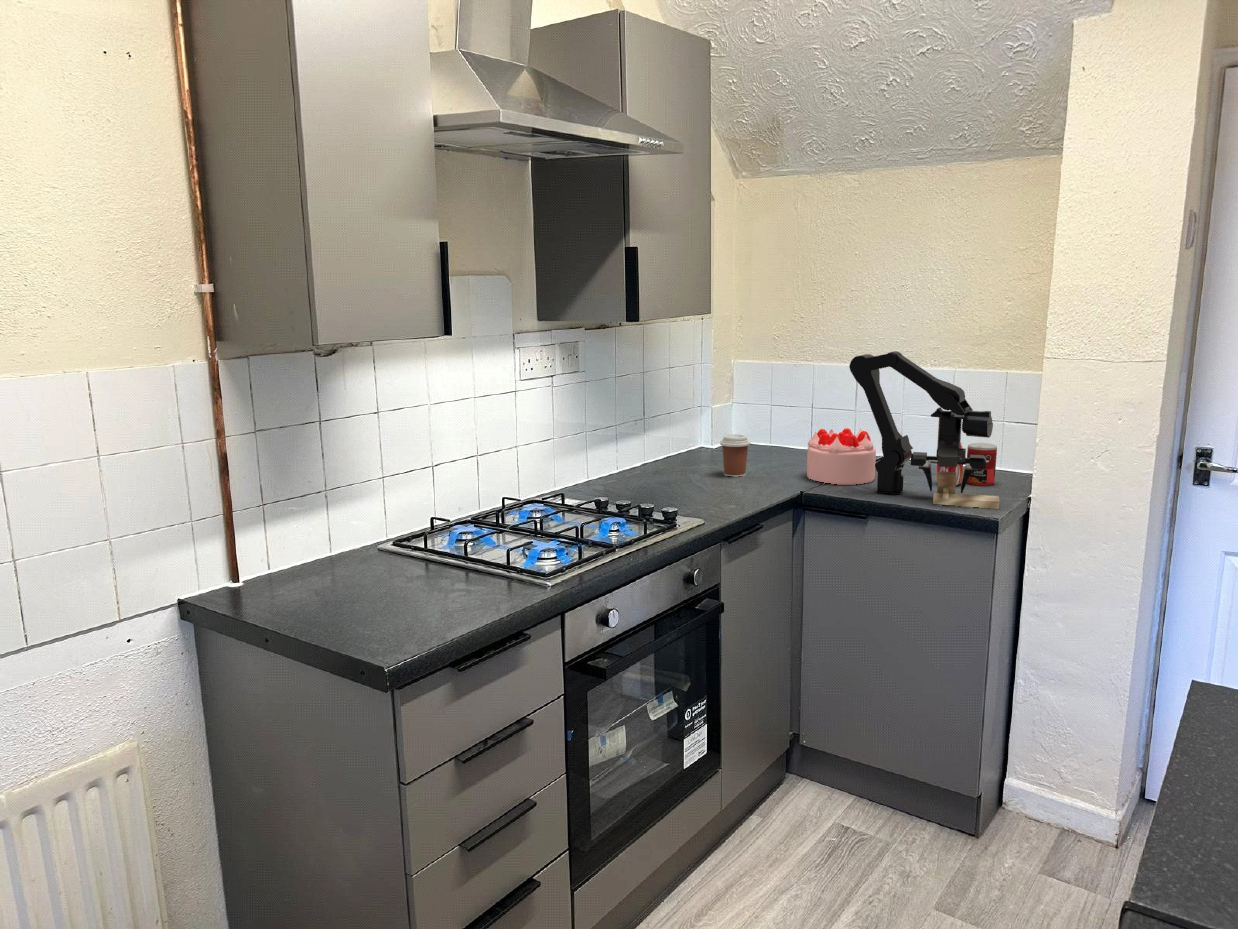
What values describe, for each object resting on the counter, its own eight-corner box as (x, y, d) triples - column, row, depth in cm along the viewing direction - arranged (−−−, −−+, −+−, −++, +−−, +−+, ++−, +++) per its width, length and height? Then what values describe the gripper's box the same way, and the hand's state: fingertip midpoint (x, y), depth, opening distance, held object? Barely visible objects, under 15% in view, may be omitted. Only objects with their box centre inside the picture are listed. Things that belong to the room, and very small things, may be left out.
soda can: (931, 484, 267) (932, 443, 264) (944, 479, 271) (946, 439, 269) (953, 488, 262) (955, 446, 259) (967, 483, 266) (969, 442, 263)
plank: (932, 504, 243) (933, 497, 243) (933, 499, 249) (934, 492, 248) (999, 509, 238) (999, 501, 237) (998, 503, 243) (998, 496, 243)
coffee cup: (749, 472, 287) (749, 433, 285) (750, 478, 278) (751, 438, 276) (719, 471, 288) (719, 433, 286) (719, 478, 279) (720, 438, 277)
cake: (880, 474, 281) (881, 427, 278) (867, 488, 263) (869, 438, 260) (815, 469, 289) (816, 424, 286) (799, 483, 271) (800, 434, 269)
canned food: (959, 482, 268) (962, 444, 266) (976, 478, 272) (979, 441, 270) (983, 487, 262) (985, 449, 259) (1000, 483, 266) (1002, 445, 264)
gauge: (935, 506, 242) (937, 479, 241) (937, 496, 252) (938, 471, 250) (954, 507, 240) (955, 480, 239) (954, 497, 250) (956, 472, 249)
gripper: (910, 438, 242) (907, 496, 245) (987, 441, 235) (984, 501, 239) (913, 431, 252) (910, 487, 255) (987, 434, 246) (983, 491, 249)
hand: (946, 492), depth 249 cm, fingers open, 7 cm apart
